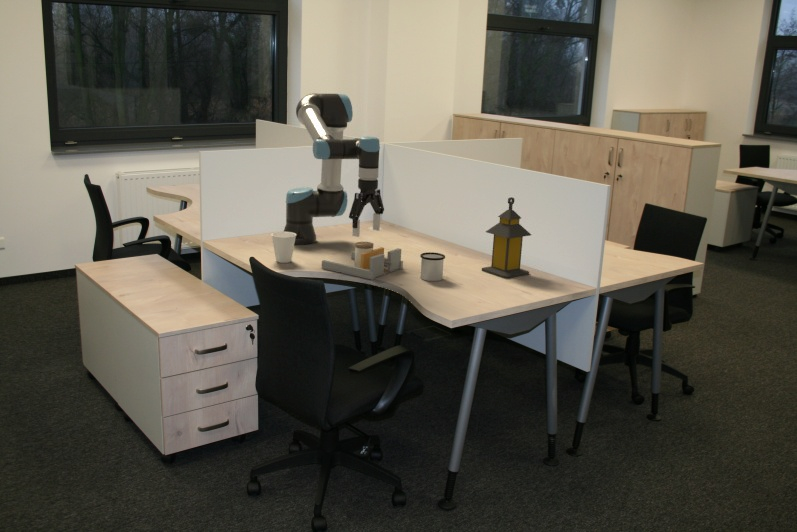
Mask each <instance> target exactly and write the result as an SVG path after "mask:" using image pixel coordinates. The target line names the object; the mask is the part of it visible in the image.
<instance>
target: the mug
mask: <svg viewBox="0 0 797 532" xmlns="http://www.w3.org/2000/svg"><path fill="white" fill-rule="evenodd" d="M419 257H420V258H421V263H420V264H421V265H420V279H421V280H423V281H427V282H439V281H441V280H443V277H444V275H443V274H444V260H445V258H446V255H445V254H443V253H439V252H433V251H432V252H431V251H429V252H427V251H426V252H423V253H421V254H420V255H419Z"/></svg>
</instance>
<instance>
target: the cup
mask: <svg viewBox="0 0 797 532" xmlns="http://www.w3.org/2000/svg"><path fill="white" fill-rule="evenodd" d="M270 235H271V238H272V244H273V250H274V256H275V261H276V262H277V263H282V264H285V263H286V264H287V263H290V262H292V261H293V253H294V249H295V248H294V247H295V244H294V243H295V237H296V234H295V233H292V232H284V231H276V232H273V233H271V234H270Z"/></svg>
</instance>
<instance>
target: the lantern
mask: <svg viewBox="0 0 797 532" xmlns="http://www.w3.org/2000/svg"><path fill="white" fill-rule="evenodd" d="M507 203H508V209H506V210H505V211H503V212H502V213H500V215H498V216H497V218H499V222H498V223H496V224H494V225H493V226H492V227H490V228H489V229H487V230H486V231H485V233H487V234H492V235H493V238H492V239H493V241H492V253H491V266H486V267H485V266H484V267H481V271H482V272H484V273H487V274H490V275H493V276H495V277H498V278H501V279H506V280H509V279H512V278H513V279H514V278H519V277H523V276H528V275H530V271H529V270H526V269H522V268H521V261H522V250H523V249H522V248H523V238H524V237H529V236H532V234H531V233H530V232H529V231H528V230H527V229H525V227H523V225H522V224H520V220H521V219H522V217H521V216H520V215H519V214H518V213H517V212H516V211H515V210H513V206H514V204H515V198H514V197H508V198H507Z"/></svg>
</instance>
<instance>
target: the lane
mask: <svg viewBox="0 0 797 532" xmlns="http://www.w3.org/2000/svg"><path fill="white" fill-rule="evenodd" d="M350 253H351V255H350V256H351V257H350V258H351V260H355V250H353V251H351V252H350ZM384 261H388V262H392V264H391V265H390V264H385V263H384ZM403 264H404V261H403V260H402V248H395V249H392V250H389V251H387V257H385V253H384V254H379V255H376V256H373V257H370V268H369V270H367V269H363V268H358V267H355V266H354V265H348V264H344V263H339V262H335V261H331V260H321V269H323V270H327V271H333V272H337V273H340V272H341V273H340V274H345V275H350V276H353V277H354V276H355V277H358V278H362V279H366V280H367V279H368V280H372V281H373V280H375V279H376V278H379V277H382V276H385V275H387V274H390V273H392V272H395V271H398V270H402V269H403V266H404V265H403ZM385 267H386V272H385ZM384 274H385V275H384Z"/></svg>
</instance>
